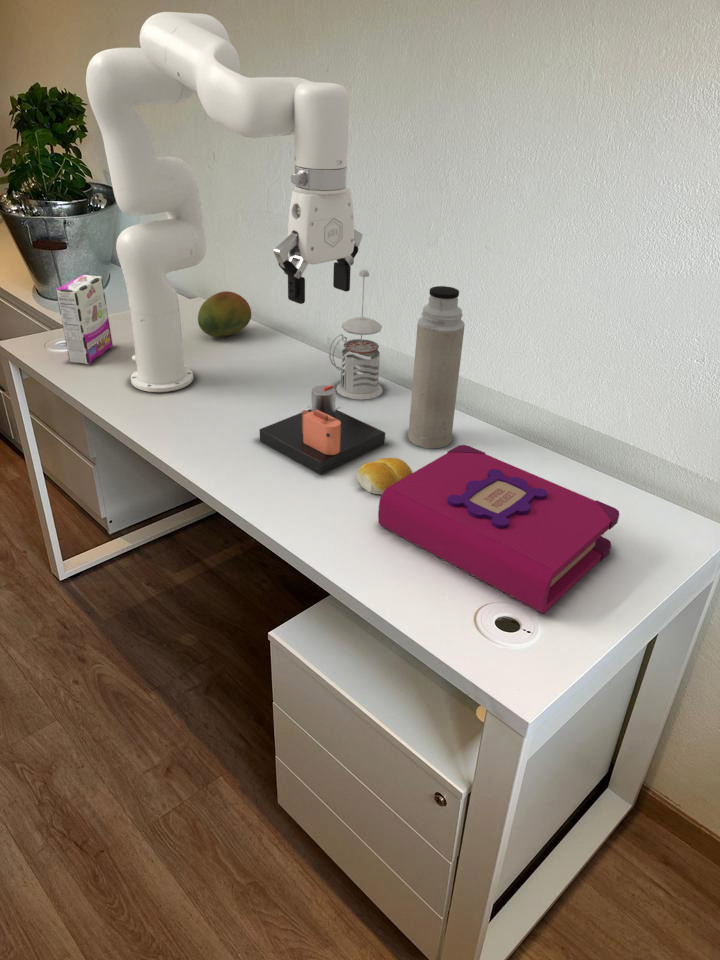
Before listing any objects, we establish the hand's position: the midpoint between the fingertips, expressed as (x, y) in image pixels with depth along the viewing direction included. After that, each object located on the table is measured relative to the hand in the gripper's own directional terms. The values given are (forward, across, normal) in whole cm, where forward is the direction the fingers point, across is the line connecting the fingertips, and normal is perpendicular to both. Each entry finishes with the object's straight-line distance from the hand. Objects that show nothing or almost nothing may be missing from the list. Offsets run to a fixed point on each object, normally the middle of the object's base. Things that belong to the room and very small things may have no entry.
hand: (319, 295), depth 116 cm
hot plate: (+28, +3, +2) cm, 29 cm away
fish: (+26, -1, -2) cm, 26 cm away
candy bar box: (+28, -7, +66) cm, 72 cm away
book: (+28, +1, -37) cm, 47 cm away
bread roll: (+28, +1, -15) cm, 32 cm away
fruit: (+28, +23, +57) cm, 68 cm away
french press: (+28, +24, +14) cm, 40 cm away
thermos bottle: (+28, +19, -10) cm, 36 cm away
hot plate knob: (+26, +7, +6) cm, 28 cm away
